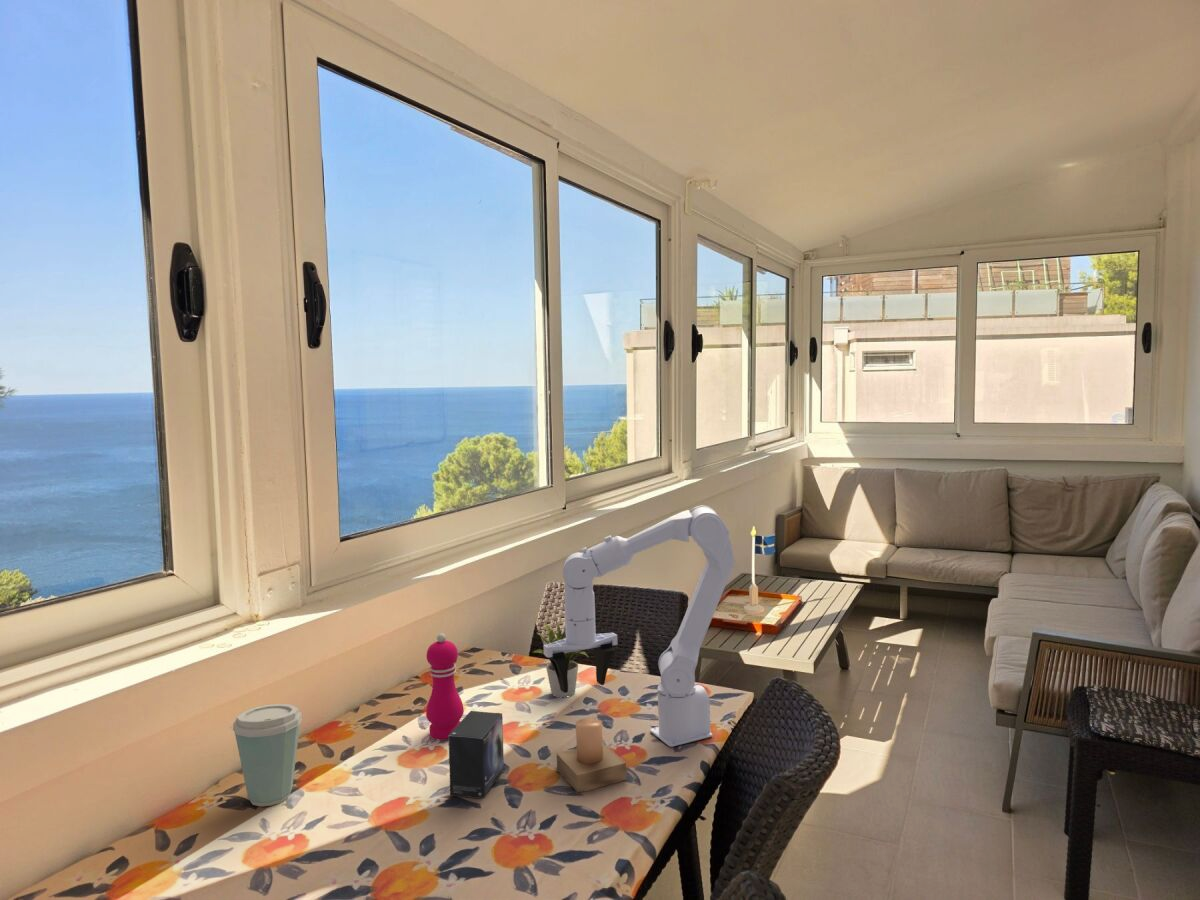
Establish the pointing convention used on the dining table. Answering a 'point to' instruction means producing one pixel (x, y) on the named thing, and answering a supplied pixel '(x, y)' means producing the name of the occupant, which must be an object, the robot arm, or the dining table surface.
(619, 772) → the tan square base block
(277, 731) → the disposable coffee cup
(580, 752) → the peach domed cylinder
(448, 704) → the pepper mill
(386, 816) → the dining table surface
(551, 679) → the house plant
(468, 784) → the small box
